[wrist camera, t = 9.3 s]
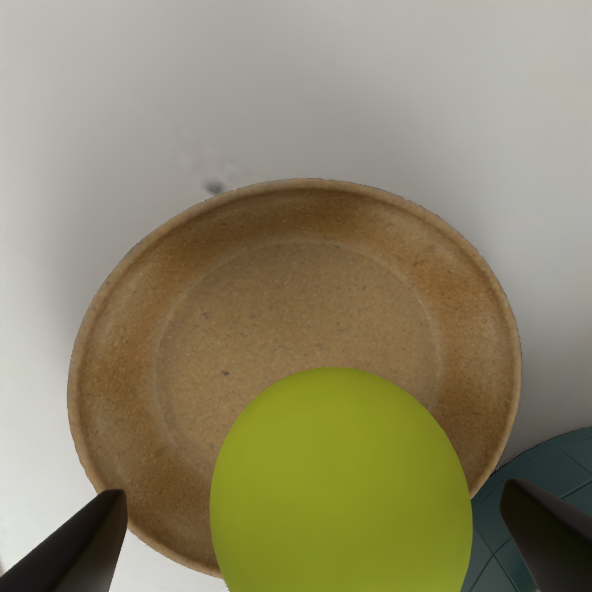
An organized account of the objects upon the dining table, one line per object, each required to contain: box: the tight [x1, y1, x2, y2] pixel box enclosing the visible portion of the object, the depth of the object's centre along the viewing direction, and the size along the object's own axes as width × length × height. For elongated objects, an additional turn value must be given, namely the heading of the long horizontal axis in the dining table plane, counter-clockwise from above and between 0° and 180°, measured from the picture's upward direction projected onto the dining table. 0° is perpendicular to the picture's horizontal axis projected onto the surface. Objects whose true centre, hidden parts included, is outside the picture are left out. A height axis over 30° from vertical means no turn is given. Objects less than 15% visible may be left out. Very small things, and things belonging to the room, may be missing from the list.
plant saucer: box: [67, 178, 522, 579], centre depth 13 cm, size 15×15×3 cm
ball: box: [209, 367, 473, 592], centre depth 9 cm, size 6×6×6 cm
